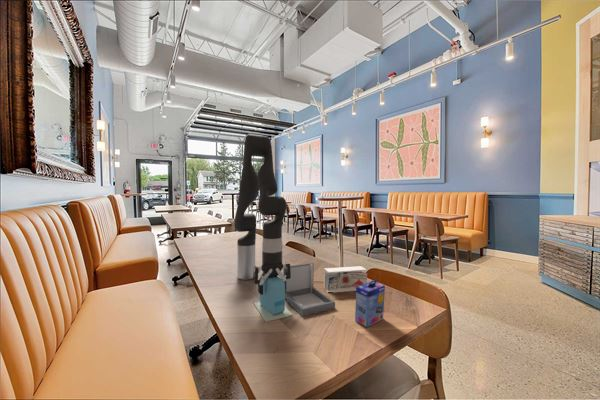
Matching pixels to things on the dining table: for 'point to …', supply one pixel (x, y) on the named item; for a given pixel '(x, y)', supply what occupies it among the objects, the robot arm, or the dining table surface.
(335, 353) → the dining table surface
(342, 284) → the white printed box
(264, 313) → the mat
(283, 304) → the blue rubber eraser
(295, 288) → the case
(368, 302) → the ink cartridge box
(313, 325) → the dining table surface
